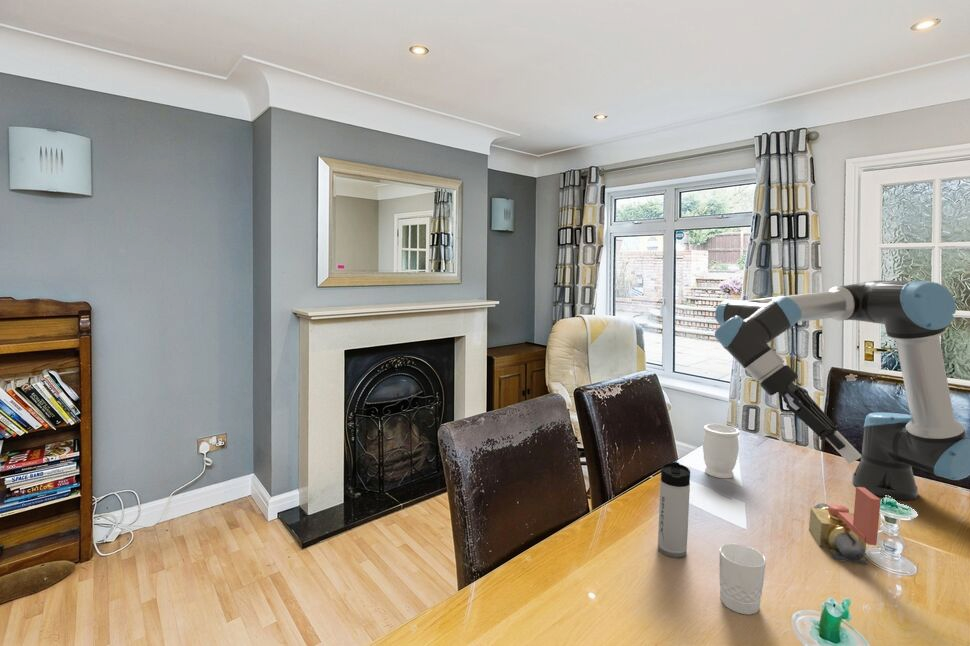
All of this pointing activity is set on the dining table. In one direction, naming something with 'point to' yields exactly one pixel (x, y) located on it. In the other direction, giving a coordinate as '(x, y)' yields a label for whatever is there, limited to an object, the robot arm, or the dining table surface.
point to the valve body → (836, 535)
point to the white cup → (741, 578)
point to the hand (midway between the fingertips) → (855, 459)
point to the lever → (861, 515)
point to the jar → (720, 449)
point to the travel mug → (674, 509)
